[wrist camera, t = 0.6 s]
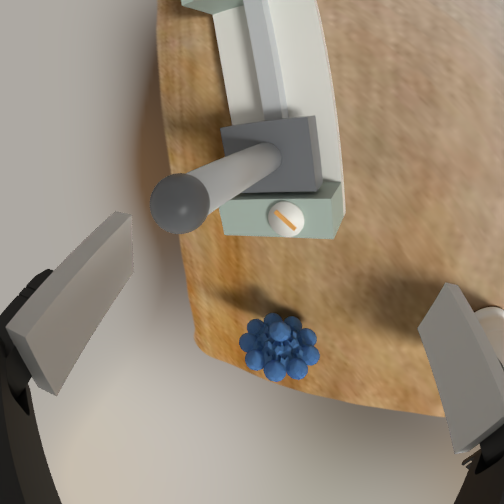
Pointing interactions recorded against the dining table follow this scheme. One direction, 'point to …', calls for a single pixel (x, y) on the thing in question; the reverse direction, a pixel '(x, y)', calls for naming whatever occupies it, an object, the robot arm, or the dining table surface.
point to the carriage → (242, 171)
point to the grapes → (279, 347)
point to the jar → (493, 328)
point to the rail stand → (279, 107)
